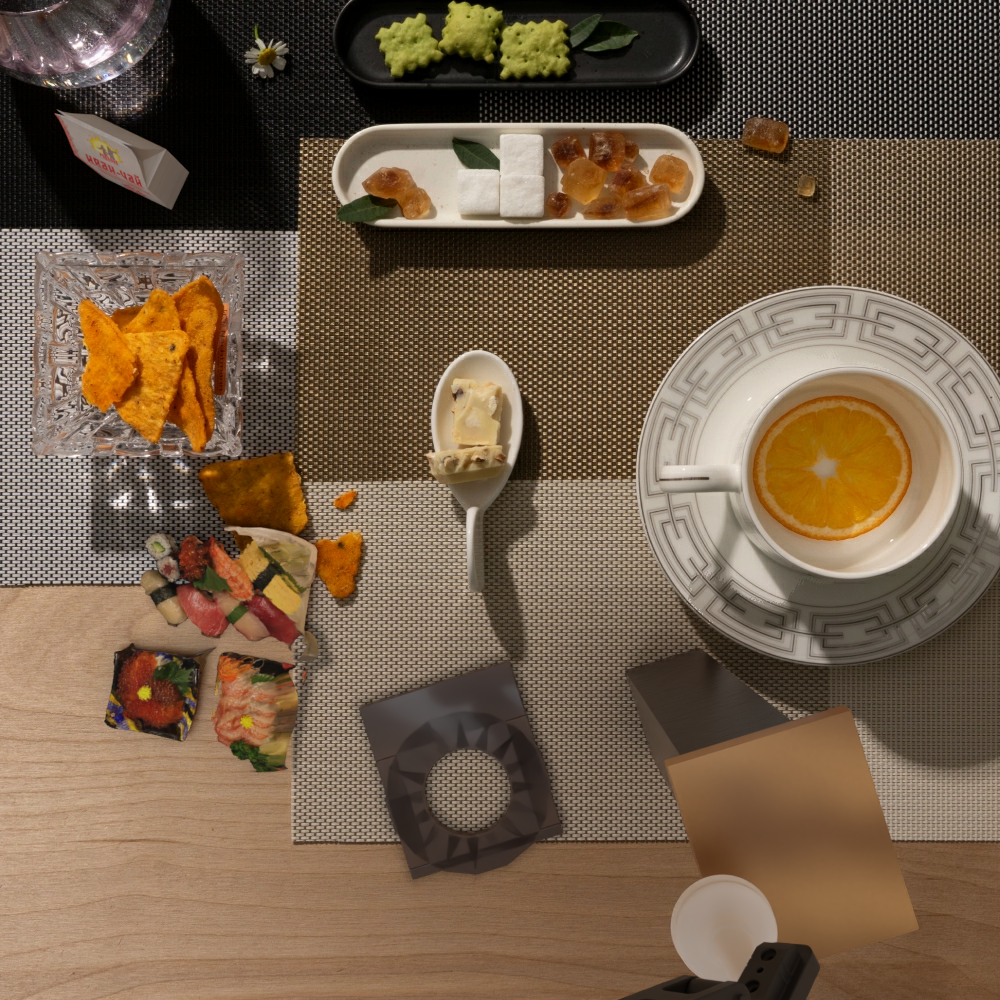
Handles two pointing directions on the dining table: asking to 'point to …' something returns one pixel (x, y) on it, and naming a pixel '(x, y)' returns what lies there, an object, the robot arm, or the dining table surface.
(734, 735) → the pillar
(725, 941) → the chess piece
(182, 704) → the food
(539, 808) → the board
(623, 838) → the dining table surface
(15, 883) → the dining table surface
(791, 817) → the tan rectangular panel
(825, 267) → the dining table surface
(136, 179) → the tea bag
